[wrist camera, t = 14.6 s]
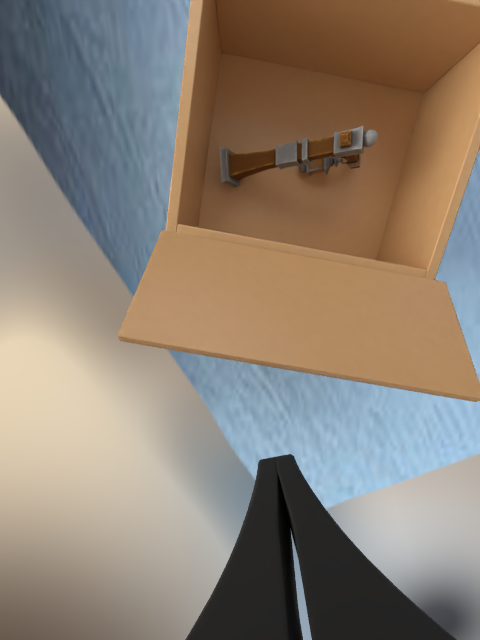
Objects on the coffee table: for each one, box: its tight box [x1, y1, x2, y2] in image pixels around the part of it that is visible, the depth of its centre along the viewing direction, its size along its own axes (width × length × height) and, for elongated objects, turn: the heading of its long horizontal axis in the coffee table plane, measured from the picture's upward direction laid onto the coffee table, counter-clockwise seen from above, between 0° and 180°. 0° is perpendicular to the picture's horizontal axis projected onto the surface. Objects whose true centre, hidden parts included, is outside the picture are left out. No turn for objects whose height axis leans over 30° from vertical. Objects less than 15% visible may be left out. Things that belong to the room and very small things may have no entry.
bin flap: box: [118, 230, 480, 402], centre depth 11 cm, size 5×13×1 cm
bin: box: [166, 0, 480, 280], centre depth 15 cm, size 11×13×6 cm
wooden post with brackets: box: [220, 126, 378, 188], centre depth 16 cm, size 2×8×4 cm, turn 93°
